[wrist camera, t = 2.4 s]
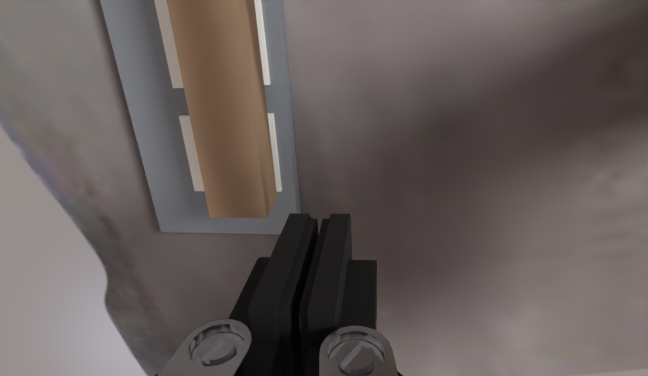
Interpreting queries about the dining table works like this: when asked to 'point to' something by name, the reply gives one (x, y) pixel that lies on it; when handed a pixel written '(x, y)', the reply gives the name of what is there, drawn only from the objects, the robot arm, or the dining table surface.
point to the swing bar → (226, 104)
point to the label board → (174, 121)
